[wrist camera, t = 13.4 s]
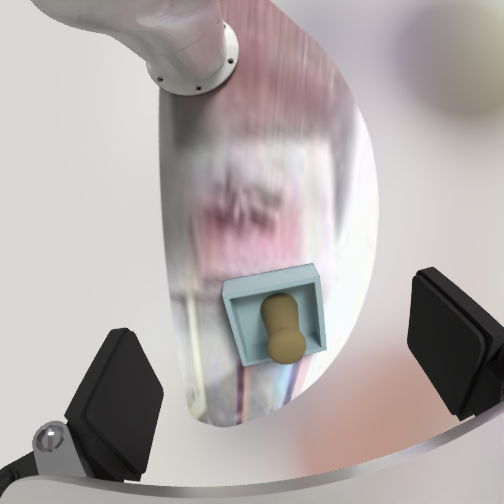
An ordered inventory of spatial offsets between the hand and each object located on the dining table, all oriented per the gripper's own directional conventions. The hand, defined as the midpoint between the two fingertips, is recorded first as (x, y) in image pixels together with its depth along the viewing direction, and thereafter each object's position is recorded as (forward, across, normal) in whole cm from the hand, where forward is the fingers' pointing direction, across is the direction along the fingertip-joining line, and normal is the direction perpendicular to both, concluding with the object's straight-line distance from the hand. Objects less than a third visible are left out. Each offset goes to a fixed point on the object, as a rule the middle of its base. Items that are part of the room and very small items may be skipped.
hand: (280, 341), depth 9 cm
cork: (+33, 0, +20) cm, 38 cm away
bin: (+33, 0, +20) cm, 39 cm away
